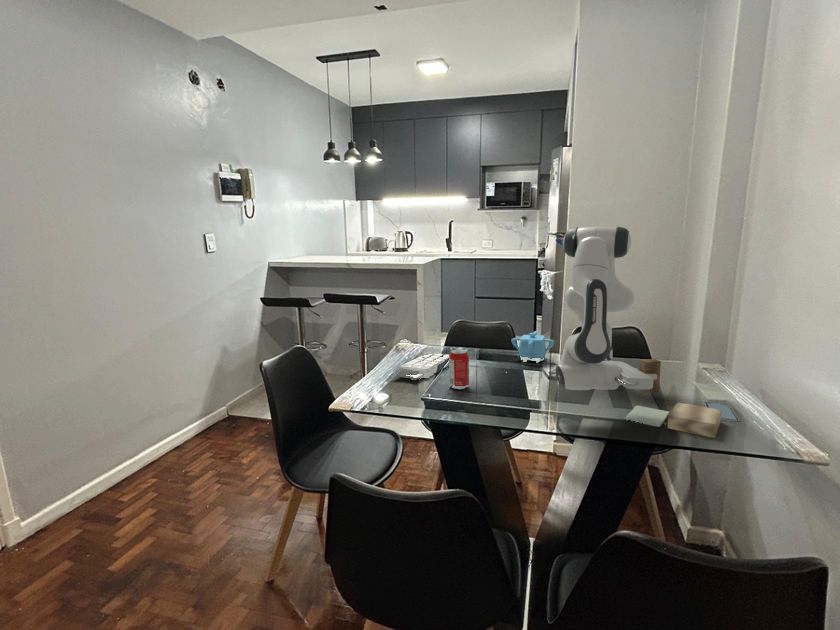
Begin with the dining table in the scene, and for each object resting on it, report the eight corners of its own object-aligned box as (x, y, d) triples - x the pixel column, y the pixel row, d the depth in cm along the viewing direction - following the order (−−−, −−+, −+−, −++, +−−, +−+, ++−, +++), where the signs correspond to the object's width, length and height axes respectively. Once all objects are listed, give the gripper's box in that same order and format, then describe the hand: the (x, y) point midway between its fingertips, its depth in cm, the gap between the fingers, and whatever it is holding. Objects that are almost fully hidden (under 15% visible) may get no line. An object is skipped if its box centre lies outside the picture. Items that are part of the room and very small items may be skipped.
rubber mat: (624, 419, 143) (624, 418, 143) (636, 407, 154) (636, 405, 154) (659, 427, 137) (659, 425, 137) (669, 413, 148) (669, 411, 147)
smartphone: (712, 418, 142) (703, 401, 156) (711, 421, 142) (703, 404, 156) (740, 421, 139) (729, 404, 153) (740, 424, 139) (728, 406, 153)
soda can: (446, 389, 178) (445, 352, 175) (454, 384, 185) (453, 348, 182) (464, 392, 174) (464, 354, 172) (472, 386, 181) (471, 349, 179)
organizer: (452, 355, 215) (417, 373, 185) (452, 364, 216) (418, 385, 185) (427, 352, 221) (390, 370, 191) (427, 362, 222) (390, 381, 192)
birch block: (667, 428, 136) (668, 415, 135) (676, 414, 147) (677, 402, 146) (714, 437, 128) (715, 424, 128) (720, 422, 139) (721, 410, 139)
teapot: (557, 362, 214) (557, 334, 212) (526, 366, 209) (527, 337, 207) (535, 354, 231) (535, 328, 229) (507, 357, 226) (507, 331, 224)
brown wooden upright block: (643, 392, 142) (644, 361, 141) (638, 389, 145) (640, 359, 144) (659, 392, 142) (660, 361, 141) (654, 389, 145) (655, 359, 144)
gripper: (624, 374, 132) (671, 373, 132) (596, 358, 152) (637, 357, 153) (623, 395, 133) (670, 394, 133) (595, 376, 153) (636, 375, 154)
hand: (652, 374), depth 143 cm, fingers closed on brown wooden upright block, 3 cm apart
